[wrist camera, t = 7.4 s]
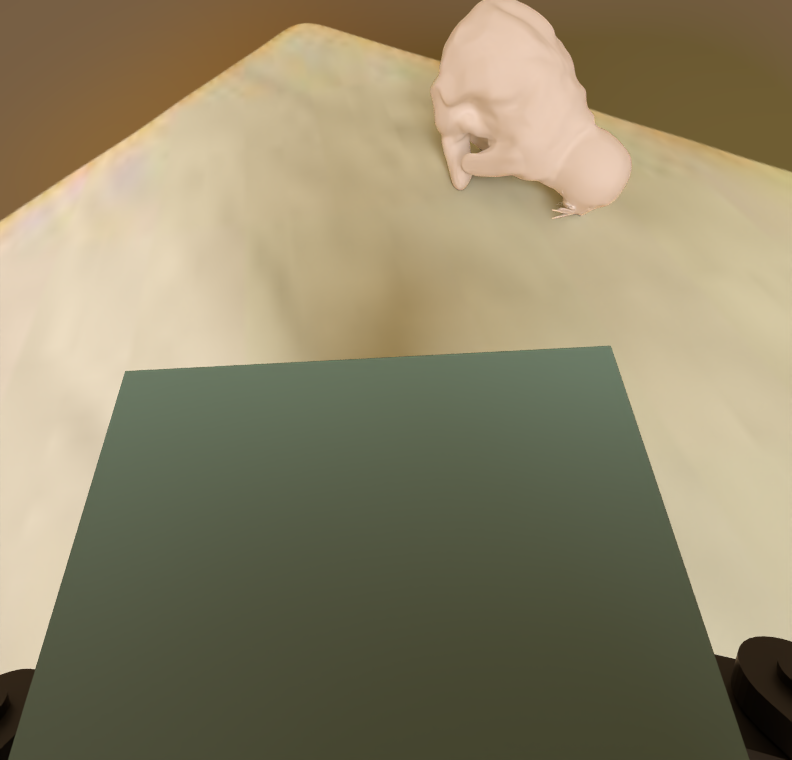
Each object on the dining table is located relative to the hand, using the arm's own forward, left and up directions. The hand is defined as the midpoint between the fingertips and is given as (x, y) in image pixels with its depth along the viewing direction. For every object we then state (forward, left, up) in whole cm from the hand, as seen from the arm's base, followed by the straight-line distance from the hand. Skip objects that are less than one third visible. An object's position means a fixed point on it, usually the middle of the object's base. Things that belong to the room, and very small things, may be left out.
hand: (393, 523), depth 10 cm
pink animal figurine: (-23, -3, -8) cm, 25 cm away
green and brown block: (+2, +1, -5) cm, 5 cm away
